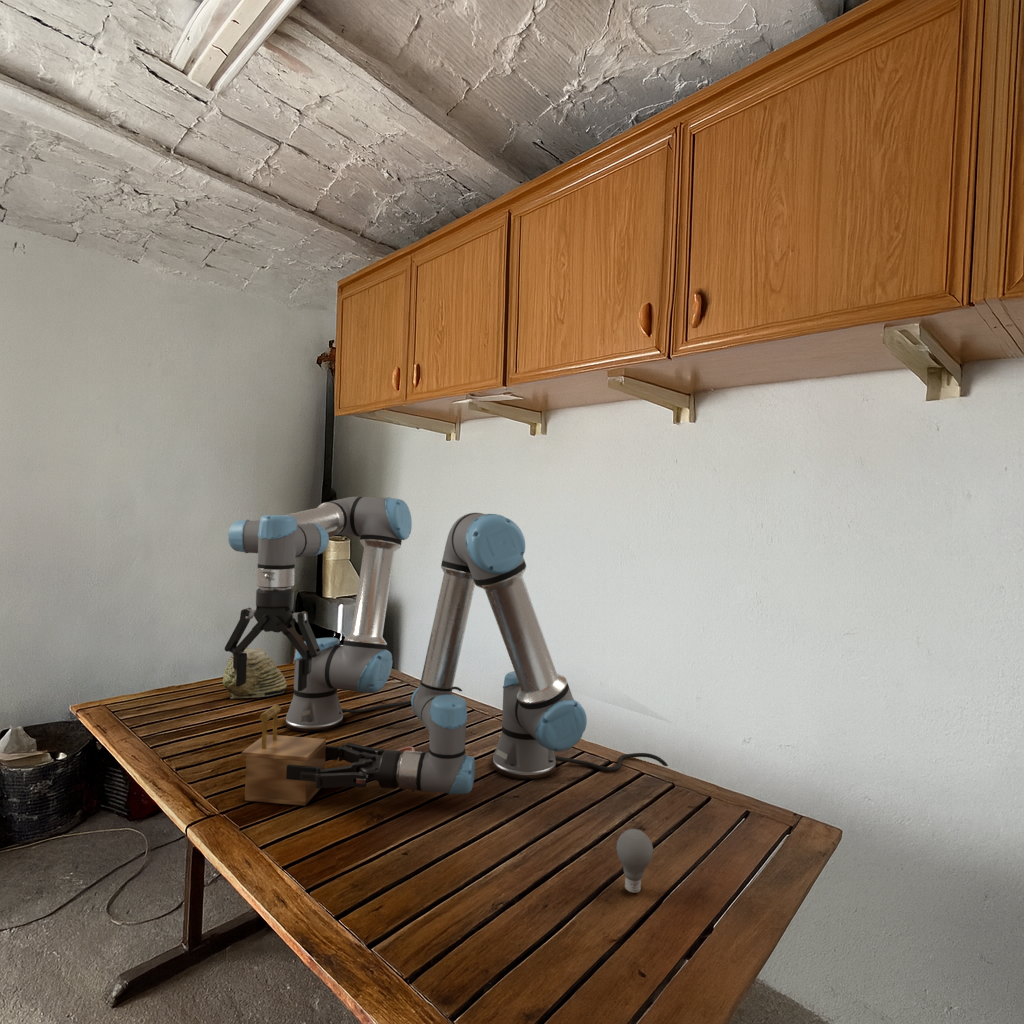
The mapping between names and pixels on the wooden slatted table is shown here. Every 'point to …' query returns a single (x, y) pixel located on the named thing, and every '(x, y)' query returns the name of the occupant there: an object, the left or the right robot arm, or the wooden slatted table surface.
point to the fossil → (255, 676)
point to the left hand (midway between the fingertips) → (271, 687)
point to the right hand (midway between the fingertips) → (298, 761)
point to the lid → (282, 742)
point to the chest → (280, 780)
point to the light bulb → (634, 857)
